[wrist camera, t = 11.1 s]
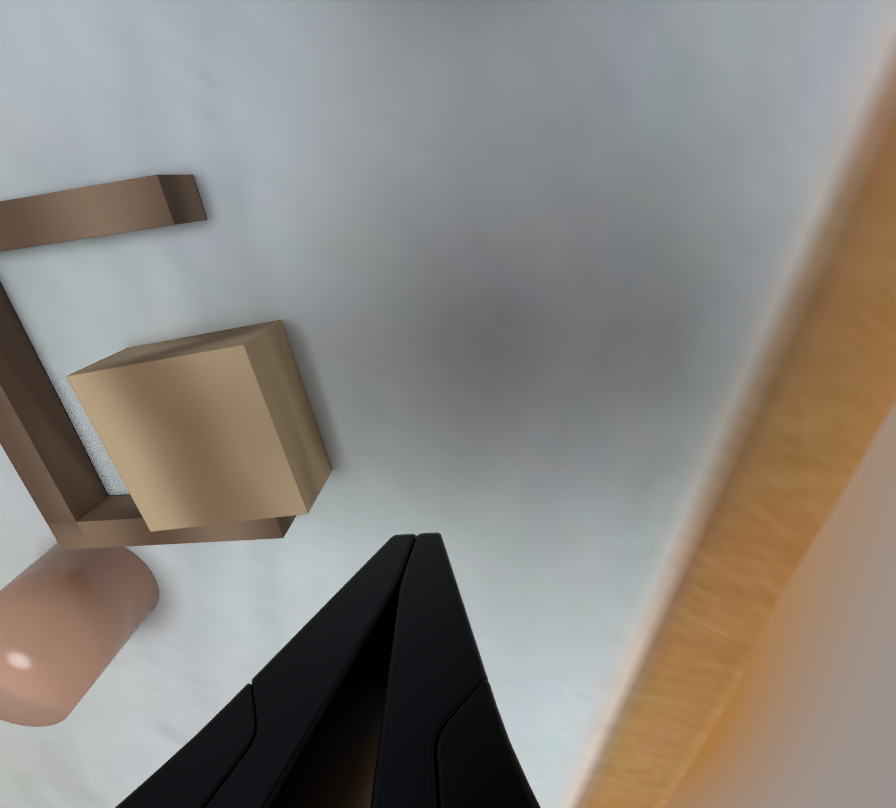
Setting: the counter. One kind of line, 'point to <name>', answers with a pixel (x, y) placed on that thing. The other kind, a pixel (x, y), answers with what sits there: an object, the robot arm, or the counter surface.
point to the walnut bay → (33, 397)
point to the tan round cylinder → (67, 628)
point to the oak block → (208, 427)
